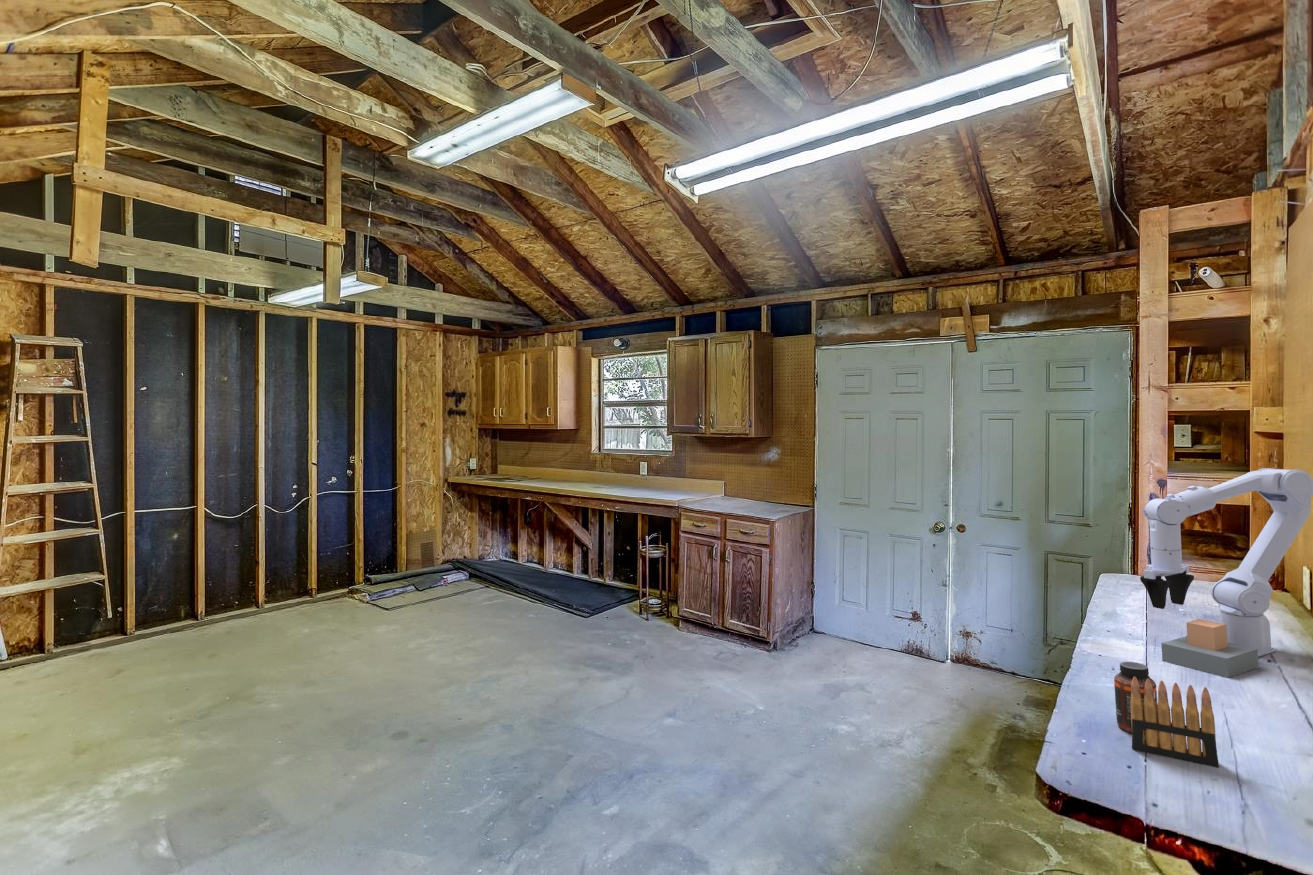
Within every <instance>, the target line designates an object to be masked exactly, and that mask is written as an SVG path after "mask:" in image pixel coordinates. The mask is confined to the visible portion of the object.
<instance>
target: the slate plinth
mask: <svg viewBox="0 0 1313 875" xmlns="http://www.w3.org/2000/svg"><path fill="white" fill-rule="evenodd" d="M1161 657H1162V658H1161V659H1162V662H1167V663H1170V664H1174V665H1179V666H1182V667H1186V668H1190V669H1193V670H1197V671H1201V672H1205V673H1208V674H1212V675H1216V676H1220V677H1224V678H1231V677H1234V676H1238V675H1240V674H1244V673H1245V672H1250V671H1252V669H1253V670H1255V668H1256V669H1258V668H1257V667H1259V665H1260V664H1259V657H1258V649H1255V648H1251V647H1246V646H1241V645H1237V644H1232V643H1228V647H1226V648H1223V649H1220V650H1216V651H1214V650H1209V649H1205V648H1201V647H1196V646H1192V645H1188V639H1187V635H1185V636H1181V637H1179V638H1175V639H1172V640H1168V641H1164V642H1161Z"/></svg>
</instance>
